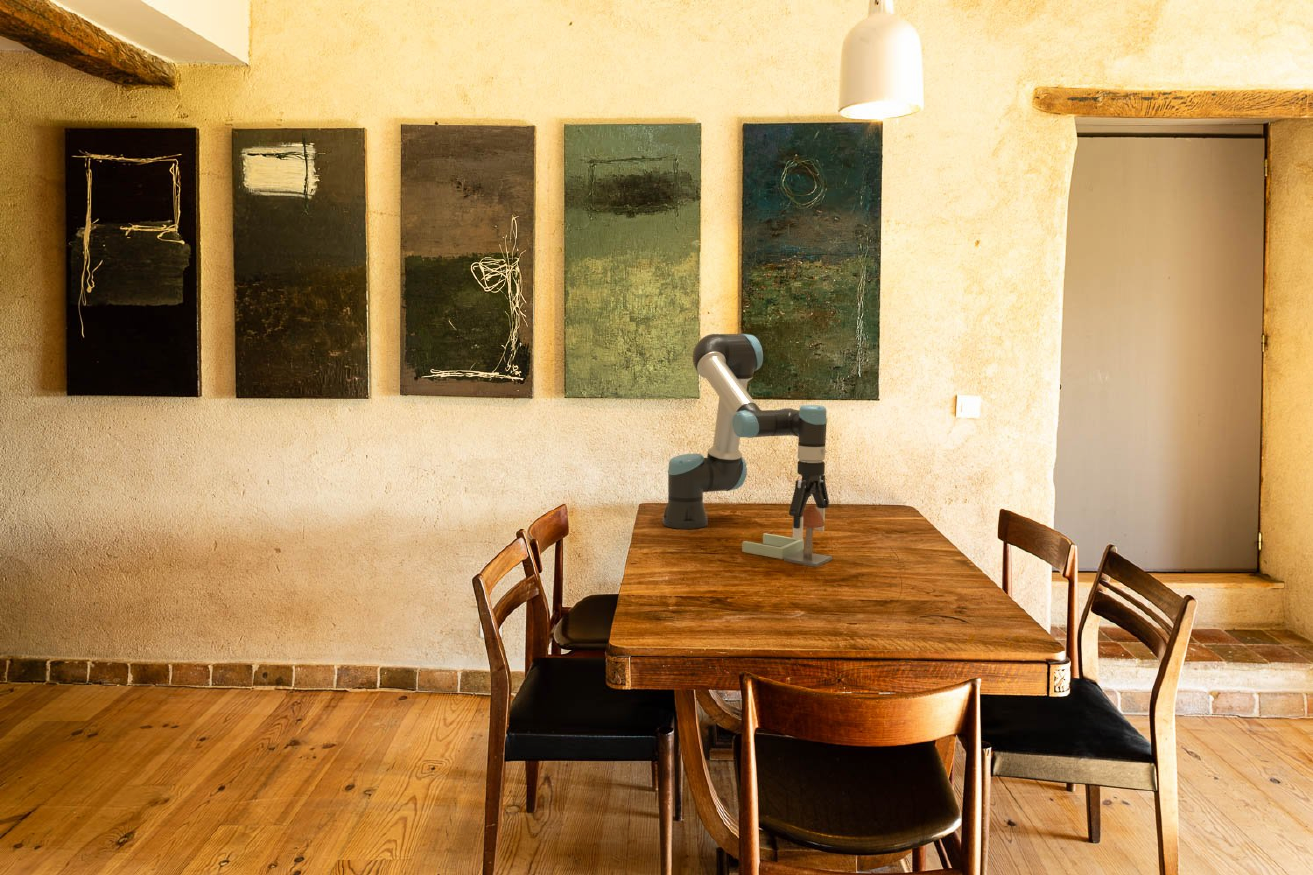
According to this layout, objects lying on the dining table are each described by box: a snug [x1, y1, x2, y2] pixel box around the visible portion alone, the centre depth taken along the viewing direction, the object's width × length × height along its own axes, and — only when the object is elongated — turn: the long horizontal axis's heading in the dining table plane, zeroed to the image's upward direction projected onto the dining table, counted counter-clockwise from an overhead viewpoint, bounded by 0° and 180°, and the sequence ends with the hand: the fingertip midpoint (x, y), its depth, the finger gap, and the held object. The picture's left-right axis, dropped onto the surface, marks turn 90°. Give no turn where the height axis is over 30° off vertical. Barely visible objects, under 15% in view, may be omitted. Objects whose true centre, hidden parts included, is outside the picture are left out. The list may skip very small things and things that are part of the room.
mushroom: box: [802, 505, 826, 558], centre depth 233 cm, size 8×8×15 cm
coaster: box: [783, 550, 833, 568], centre depth 234 cm, size 10×10×1 cm
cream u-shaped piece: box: [741, 533, 805, 560], centre depth 244 cm, size 13×13×3 cm
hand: (808, 534), depth 233 cm, fingers open, 13 cm apart
